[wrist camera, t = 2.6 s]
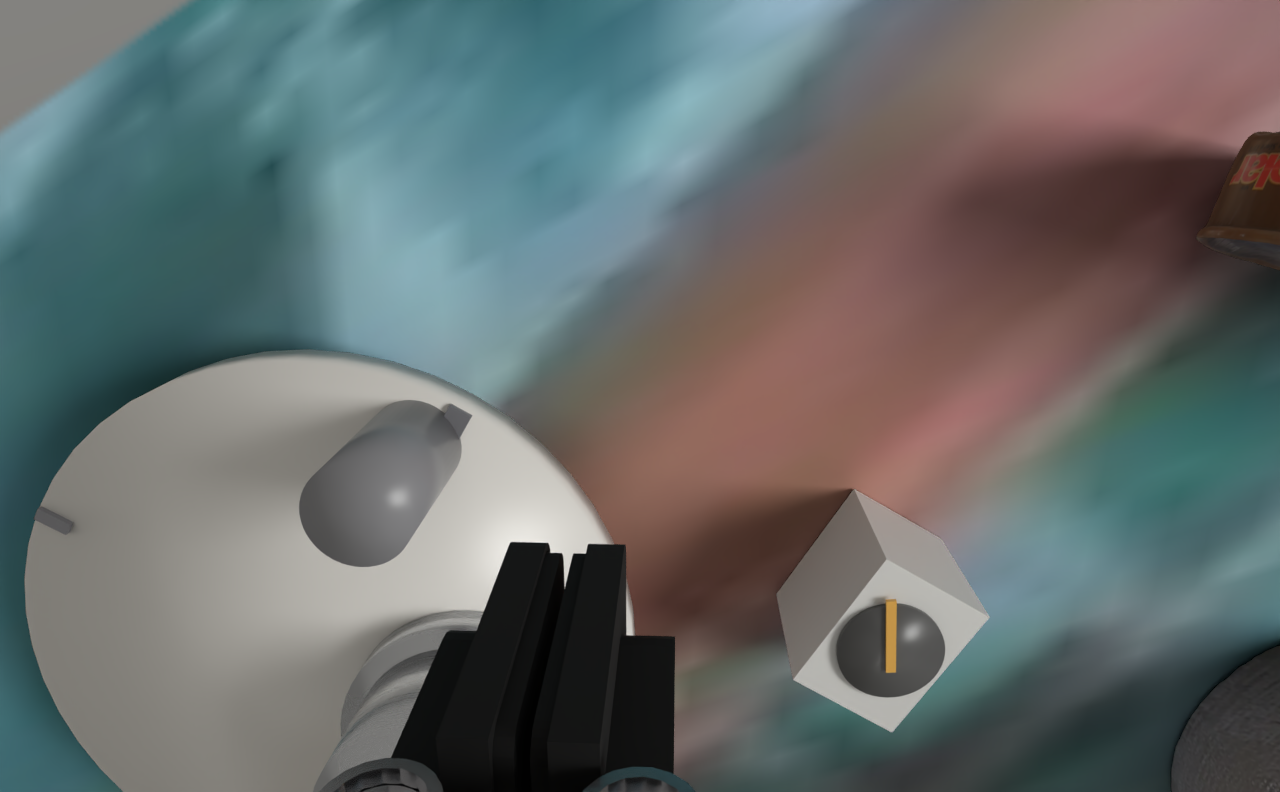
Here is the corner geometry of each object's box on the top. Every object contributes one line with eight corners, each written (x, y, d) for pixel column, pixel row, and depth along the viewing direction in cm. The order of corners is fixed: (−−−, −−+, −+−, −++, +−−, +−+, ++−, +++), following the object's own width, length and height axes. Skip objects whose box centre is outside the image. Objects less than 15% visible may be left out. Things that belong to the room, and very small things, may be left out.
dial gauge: (860, 640, 25) (894, 739, 21) (775, 594, 25) (794, 685, 21) (940, 538, 24) (993, 623, 20) (853, 489, 24) (889, 564, 20)
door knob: (527, 855, 25) (496, 987, 21) (316, 748, 24) (245, 863, 20) (646, 688, 23) (635, 799, 19) (419, 566, 22) (361, 656, 18)
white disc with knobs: (479, 910, 29) (429, 1108, 23) (8, 687, 27) (-178, 843, 21) (747, 529, 24) (768, 661, 18) (192, 221, 22) (15, 258, 16)
